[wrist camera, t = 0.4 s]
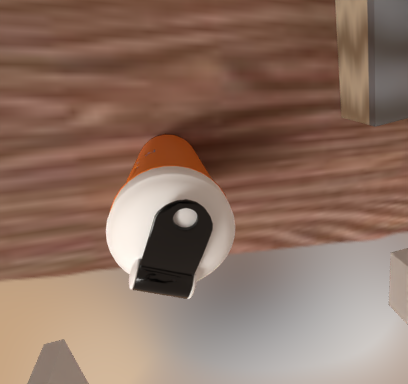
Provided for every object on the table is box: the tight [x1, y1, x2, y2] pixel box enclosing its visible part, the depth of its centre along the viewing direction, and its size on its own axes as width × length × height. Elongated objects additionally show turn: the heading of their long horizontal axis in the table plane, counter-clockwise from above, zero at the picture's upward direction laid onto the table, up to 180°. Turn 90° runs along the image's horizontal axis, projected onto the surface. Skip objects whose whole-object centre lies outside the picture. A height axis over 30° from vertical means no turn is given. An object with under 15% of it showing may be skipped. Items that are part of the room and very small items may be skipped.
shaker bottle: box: [106, 135, 235, 299], centre depth 28 cm, size 9×9×20 cm
